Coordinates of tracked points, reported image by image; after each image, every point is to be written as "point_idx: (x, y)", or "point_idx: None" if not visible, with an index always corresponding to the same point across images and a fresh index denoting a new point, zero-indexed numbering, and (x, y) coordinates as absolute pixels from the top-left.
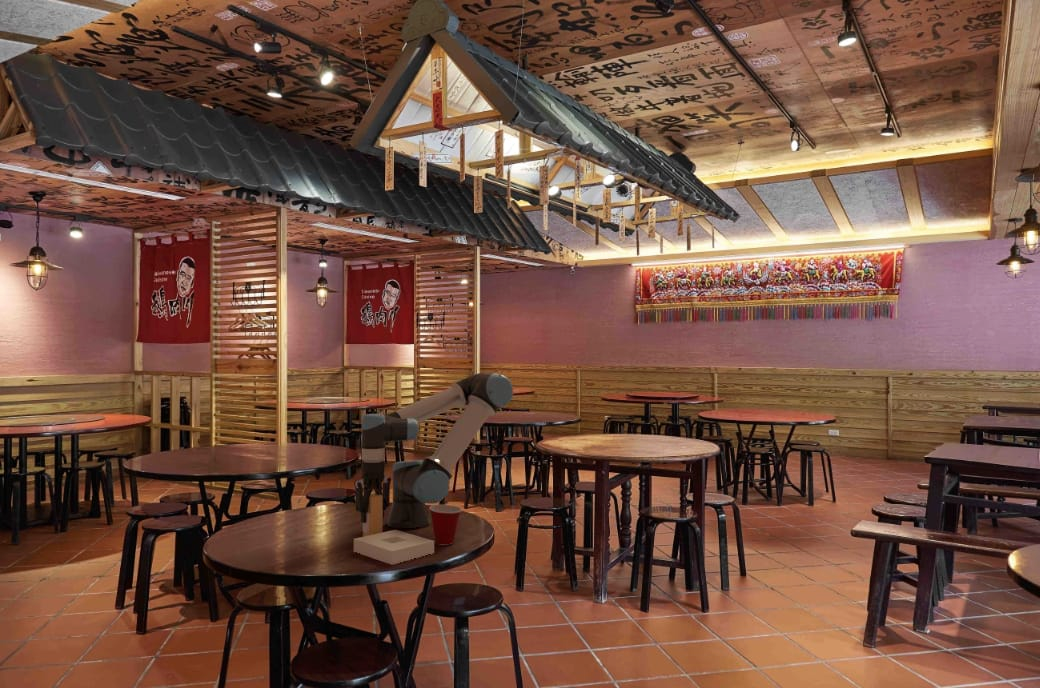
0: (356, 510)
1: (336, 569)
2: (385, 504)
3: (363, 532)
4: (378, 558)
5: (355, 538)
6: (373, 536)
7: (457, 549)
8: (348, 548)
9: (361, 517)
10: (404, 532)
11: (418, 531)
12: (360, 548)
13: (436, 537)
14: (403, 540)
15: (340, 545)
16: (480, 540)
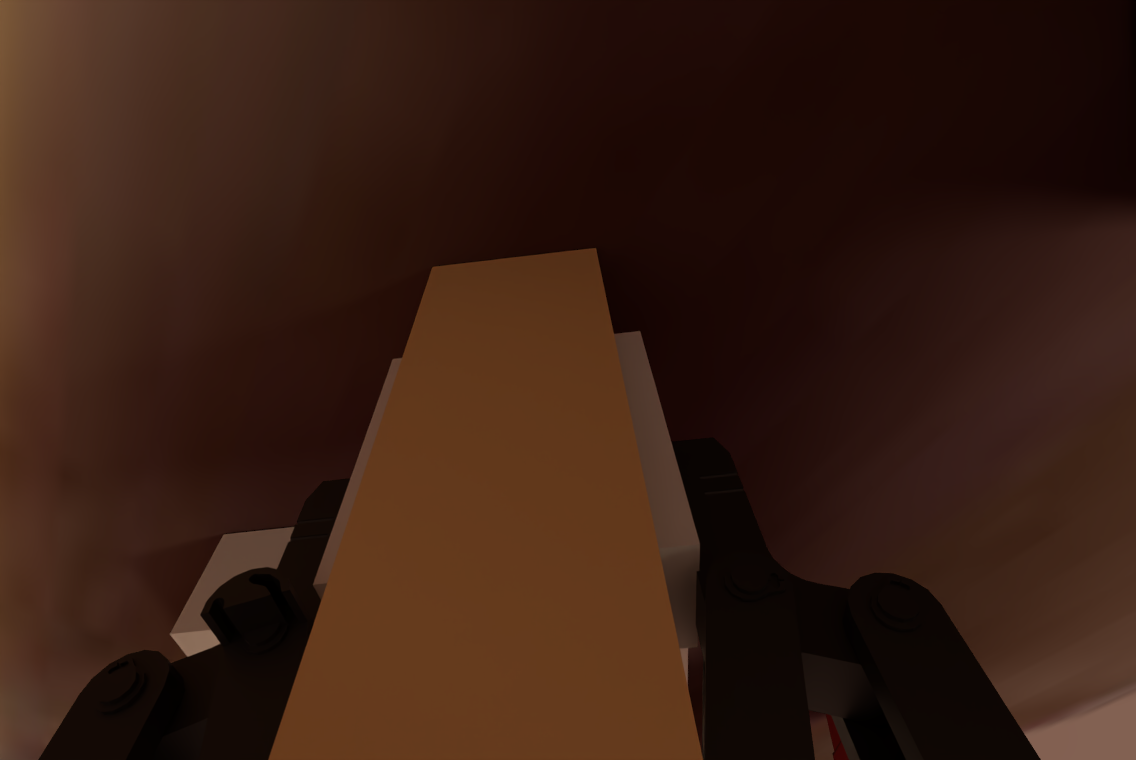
0: (110, 689)
1: (46, 736)
2: (832, 712)
3: (420, 319)
4: None
5: (189, 633)
6: None
7: (823, 753)
8: (196, 437)
9: (291, 554)
10: (685, 673)
11: (1125, 308)
12: None
13: (834, 726)
14: None
15: (125, 301)
16: (1072, 706)
